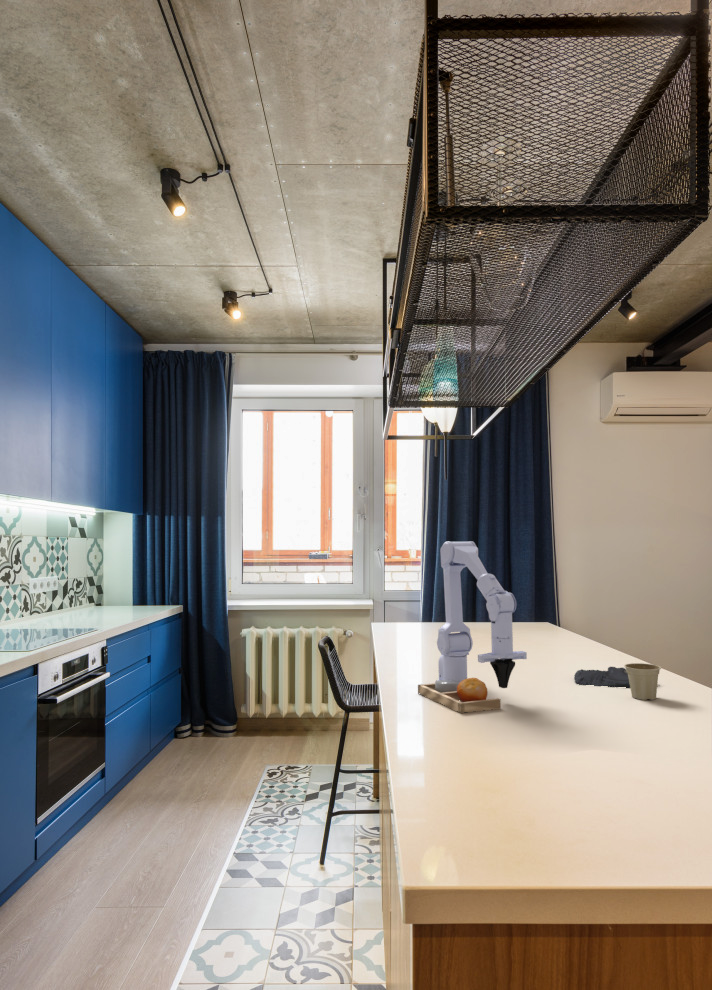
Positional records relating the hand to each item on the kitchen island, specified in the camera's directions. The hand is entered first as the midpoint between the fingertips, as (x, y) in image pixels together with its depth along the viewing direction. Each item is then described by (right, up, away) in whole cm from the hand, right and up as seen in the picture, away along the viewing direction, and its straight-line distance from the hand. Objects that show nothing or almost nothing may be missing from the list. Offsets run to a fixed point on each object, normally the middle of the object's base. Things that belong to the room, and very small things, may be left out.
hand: (503, 687), depth 180 cm
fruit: (-9, -4, -4) cm, 11 cm away
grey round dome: (-15, -5, +7) cm, 17 cm away
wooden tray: (-12, -4, +1) cm, 13 cm away
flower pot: (+40, -4, +2) cm, 40 cm away
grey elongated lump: (+39, -6, +23) cm, 45 cm away
